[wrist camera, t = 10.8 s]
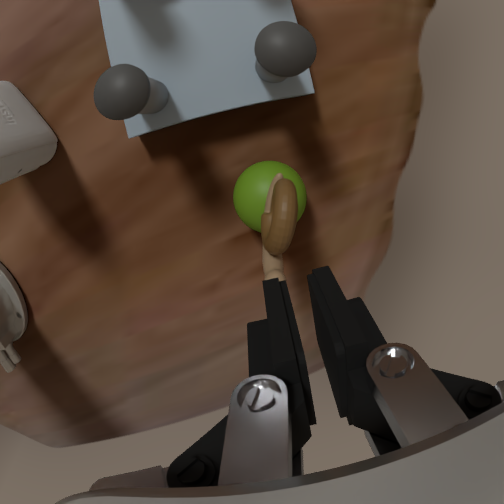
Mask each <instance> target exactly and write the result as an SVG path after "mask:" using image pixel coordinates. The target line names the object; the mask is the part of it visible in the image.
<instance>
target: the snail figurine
mask: <svg viewBox="0 0 504 504" xmlns="http://www.w3.org/2000/svg"><path fill="white" fill-rule="evenodd" d="M306 199H307V196H306V189H305V185H304V183H303V181H302V179H301V177H300V176H299V175H298V173H297V172H296V171H295V170H293V169H292V168H291V167H289V166H288V165H286V164H283V163H281V162H277V161H263V162H259V163H256V164H254V165H252V166H250V167H249V168H247V169H246V170H245V171H244V172H243V173H242V174H241V175H240V177H239V178H238V180H237V182H236V185H235V188H234V193H233V201H234V206H235V210H236V212H237V214H238V216H239V217H240V219H241V220H242V221H243V222H244V223H245V224H246V225H247V226H248V227H250V228H251V229H253V230H255V231H258V232H261V236H262V243H263V257H262V261H263V270H264V274H265V279H264V280H268V279H273V278H277V277H278V278H279V281H283V280H286V278H285V275H284V274H283V259H282V253H284V252H285V251H286V250H287V249H288V247H289V245H290V243H291V240H292V237H293V235H294V232H295V228H296V223H297V221H298V220H299V219H300V217H301V216H302V214H303V212H304V209H305V206H306Z"/></svg>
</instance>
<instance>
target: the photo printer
mask: <svg viewBox="0 0 504 504" xmlns="http://www.w3.org/2000/svg"><path fill="white" fill-rule="evenodd" d="M57 141H58V139H57V137H56V136H55V134H54V132H53V131H52V129H51V128H50V127H49V125H48V124H47V123H46V122H45V120H44V119H43V118H42V117H41V115H40V114H39V113H38V112H37V111H36V109H35V108H34V107H33V106H32V105H31V103H30V102H29V101H28V100H27V99H26V98H25V97H24V95H23V94H22V93H21V92H20V91H19V90H18V89H17V88H16V87H15V86H14V85H13V84H12V83H10V82H8V81H0V184H2V183H4V182H7V181H9V180H11V179H14V178H16V177H18V176H21V175H23V174H26V173H28V172H31V171H33V170H35V169H37V168H38V167H39V166H41V165H43V164H46V163H47V162H49V161H50V160H51V159H52V157H53V156H54V154H55V151H56V148H57Z"/></svg>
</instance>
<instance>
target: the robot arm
mask: <svg viewBox="0 0 504 504" xmlns="http://www.w3.org/2000/svg"><path fill="white" fill-rule="evenodd" d="M307 279H308V285H309V291H310V297H311V303H312V309H313V316H314V322H315V329H316V335H317V341H318V345H319V348H320V351H321V355H322V358H323V361H324V364H325V368H326V371H327V374H328V378H329V381H330V384H331V388H332V391H333V395H334V398H335V401H336V404H337V408H338V412H339V415H340V417H341V418H343V417H346V416H347V420H348V423H349V425H354V426H356V427H358V428H361V429H363V430H364V432H365V436H366V438H367V440H368V442H369V444H370V447H371V449H372V451H373V453H374V455H375V457H374V458H370V459H367V460H364V461H360V462H356V463H353V464H349V465H345V466H341V467H337V468H333V469H329V470H325V471H320V472H315V473H311V474H306V475H304V472H303V471H304V470H303V450H302V447H303V446H304V444H305V443H306V442H307V441H308V440H309V439H310V437H311V430H310V425H313V424H316V417H315V411H314V405H313V400H312V394H311V388H310V382H309V377H308V371H307V365H306V360H305V355H304V351H303V347H302V343H301V339H300V335H299V331H298V327H297V323H296V319H295V315H294V311H293V307H292V303H291V299H290V295H289V291H288V288H287V284H286V280H283V281H279V278H278V277H277V278H273V279H268V280H264V281H263V289H264V297H265V304H266V312H267V319H264V320H259V321H254V322H250V323H248V324H247V334H248V360H249V378H247V379H245V380H243V381H242V382H241V383H239V384H238V385H237V386H236V388H235V389H234V390H233V392H232V395H231V399H230V406H229V413H228V415H227V416H226V417H224V418H223V419H222V420H221V421H220V422H219V423H218V424H216V426H214V427H213V428H212V429H211V430H210V431H208V432H207V433H206V434H205V435H204V436H203V437H201V438H200V439H199V440H198V441H197V442H195V443H194V444H193V445H192V446H191V447H189V448H188V449H187V450H186V451H185V452H183V454H181V455H180V456H178V457H177V458H176V459H175V460H174V461H173V462H172V463H171V464H170V466H169V467H166V468H162V467H161V466H156V467H152V468H148V469H143V470H139V471H135V472H130V473H125V474H120V475H115V476H109V477H104V478H102V479H99V480H97V481H96V482H95V483H93V485H92V486H91V488H90V489H89V491H87V492H83V493H78V494H74V495H72V496H69V497H66V498H64V499H62V500H60V501H58V502H57V503H55V504H504V380H503V381H498V382H497V384H496V386H492V385H490V384H488V383H485V382H482V381H479V380H474V379H470V378H466V377H462V376H458V375H454V374H450V373H446V372H442V371H438V370H435V369H431V368H429V366H428V365H427V364H426V363H425V361H424V360H423V359H422V358H421V356H420V355H419V354H418V353H417V352H416V351H415V350H414V349H413V348H412V347H410V346H408V345H406V344H401V343H388V344H387V342H386V341H385V339H384V337H383V336H382V333H381V332H380V330H379V328H378V326H377V325H376V323H375V321H374V320H373V318H372V316H371V314H370V313H369V311H368V309H367V307H366V306H365V304H364V302H363V301H362V299H361V298H360V297H357V298H353V299H350V300H346V298H345V296H344V294H343V292H342V290H341V288H340V286H339V285H338V283H337V281H336V279H335V277H334V275H333V273H332V272H331V270H330V268H329V266H325V267H321V268H317V269H312V274H310V275H307ZM27 323H28V313H27V308H26V303H25V301H24V298H23V295H22V293H21V291H20V289H19V287H18V285H17V283H16V281H15V280H14V278H13V277H12V275H11V274H10V273H9V272H8V270H7V269H6V268H5V267H4V266H3V265H2V264H1V263H0V363H1V365H2V366H3V368H4V369H5V370H6V372H11V371H13V370H14V369H15V367H16V363H18V362H19V361H20V360H21V357H20V355H19V354H18V352H17V351H16V350H15V349H14V347H13V345H12V344H13V342H12V341H15V340H17V339H19V338H20V337H21V336H22V334H23V333H24V332H25V330H26V327H27Z"/></svg>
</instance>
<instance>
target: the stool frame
mask: <svg viewBox="0 0 504 504" xmlns="http://www.w3.org/2000/svg"><path fill="white" fill-rule="evenodd" d="M99 5H100V11H101V17H102V23H103V28H104V33H105V39H106V44H107V49H108V54H109V58H110V63H111V67H110V68H109V69H107V70H106V71H105V72H104V73H103V74H102V75H101V76H100V77H99V79H98V81H97V83H96V85H95V89H94V102H95V105H96V107H97V109H98V111H99V112H100V113H101V114H102V115H103V116H105V117H106V118H109V119H112V120H124V122H125V126H126V130H127V133H128V137H129V138H132V137H137V136H140V135H143V134H146V133H149V132H152V131H155V130H159V129H162V128H165V127H168V126H172V125H175V124H178V123H182V122H185V121H189V120H193V119H196V118H200V117H204V116H208V115H211V114H215V113H219V112H224V111H228V110H232V109H236V108H241V107H245V106H250V105H255V104H259V103H264V102H269V101H275V100H280V99H286V98H291V97H297V96H304V95H309V94H312V93H315V92H314V88H313V83H312V79H311V75H310V70H309V67H310V66H311V65H312V63H313V62H314V60H315V57H316V44H315V41H314V38H313V37H312V35H311V34H310V33H309V31H308V30H306V29H305V28H304V27H303V26H301V25H299V24H297V20H296V16H295V13H294V9H293V6H292V3H291V0H99Z"/></svg>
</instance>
